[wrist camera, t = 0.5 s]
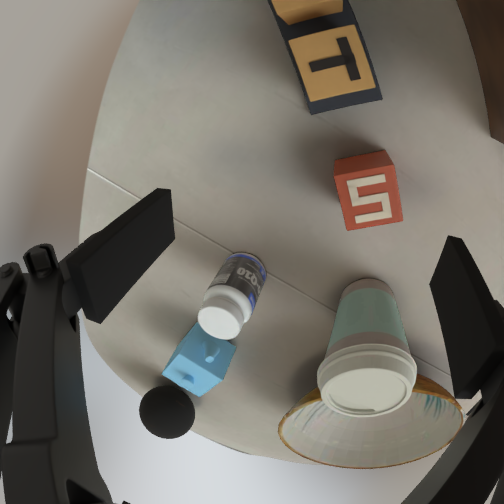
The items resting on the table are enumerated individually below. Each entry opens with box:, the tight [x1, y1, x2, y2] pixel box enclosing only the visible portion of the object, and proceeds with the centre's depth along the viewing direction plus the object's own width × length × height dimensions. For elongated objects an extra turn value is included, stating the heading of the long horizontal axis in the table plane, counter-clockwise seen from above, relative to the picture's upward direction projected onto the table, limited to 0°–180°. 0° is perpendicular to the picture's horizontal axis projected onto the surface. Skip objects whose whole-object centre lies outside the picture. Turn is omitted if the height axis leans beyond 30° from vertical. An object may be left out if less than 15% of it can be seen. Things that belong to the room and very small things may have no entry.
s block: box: [334, 150, 403, 231], centre depth 23 cm, size 4×4×5 cm
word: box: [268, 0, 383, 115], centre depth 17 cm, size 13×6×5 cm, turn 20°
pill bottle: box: [198, 253, 266, 340], centre depth 30 cm, size 5×5×8 cm
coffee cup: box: [317, 279, 417, 417], centre depth 26 cm, size 9×8×12 cm
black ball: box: [139, 386, 195, 439], centre depth 49 cm, size 10×10×10 cm
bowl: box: [278, 374, 465, 469], centre depth 36 cm, size 25×25×8 cm
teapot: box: [162, 322, 236, 397], centre depth 38 cm, size 12×6×8 cm, turn 148°
